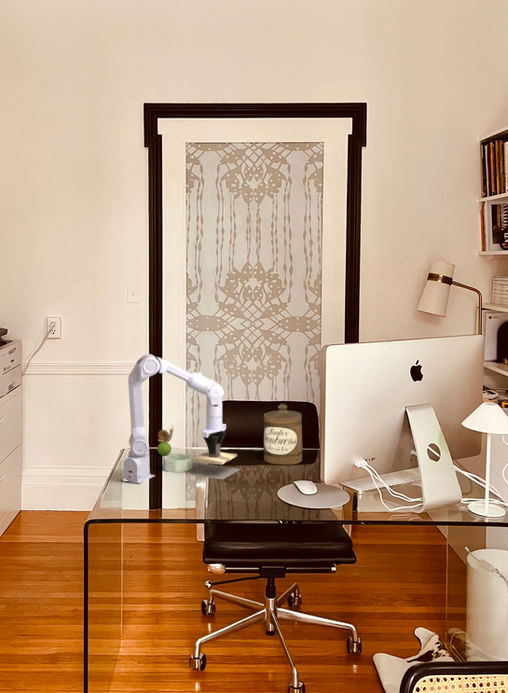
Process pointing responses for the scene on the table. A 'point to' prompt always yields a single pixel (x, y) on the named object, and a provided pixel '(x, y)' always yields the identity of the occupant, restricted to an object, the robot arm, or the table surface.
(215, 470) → the mat
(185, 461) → the bowl
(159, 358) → the robot arm
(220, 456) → the lid
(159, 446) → the snail figurine
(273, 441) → the wooden container
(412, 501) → the table surface
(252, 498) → the table surface
